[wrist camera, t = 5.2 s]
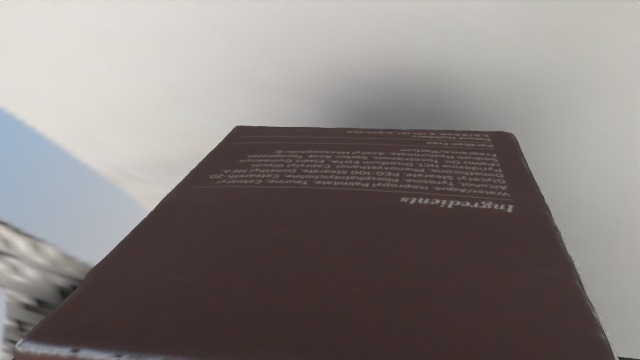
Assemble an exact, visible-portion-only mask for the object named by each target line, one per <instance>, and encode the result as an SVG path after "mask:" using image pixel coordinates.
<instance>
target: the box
mask: <svg viewBox="0 0 640 360" xmlns="http://www.w3.org/2000/svg"><path fill="white" fill-rule="evenodd" d="M14 356H15V360H615V357H614V354H613V352H612V349H611V346H610V343H609V341H608V338H607V336H606V334H605V332H604V330H603V328H602V326H601V324H600V321H599V319H598V316H597V313H596V311H595V309H594V307H593V305H592V303H591V301H590V300H589V298H588V296H587V294H586V292H585V289H584V286H583V284H582V281H581V279H580V276H579V274H578V272H577V270H576V268H575V265H574V263H573V261H572V258H571V257H570V255H569V254H568V251H567V249H566V247H565V245H564V242H563V240H562V237H561V234H560V232H559V230H558V228H557V226H556V225H555V222H554V220H553V217H552V214H551V212H550V210H549V208H548V206H547V204H546V202H545V200H544V197H543V195H542V194H541V191H540V189H539V187H538V185H537V183H536V181H535V179H534V177H533V175H532V172H531V170H530V169H529V167H528V164H527V162H526V160H525V158H524V155H523V153H522V150H521V148H520V146H519V143H518V141H517V139H516V137H515V136H514V135H513V134H512V133H508V132H503V131H491V132H482V131H453V130H401V129H359V128H319V127H267V126H236V127H235V128H233V130H232V131H231V132H230V133H229V134H228V135H227V136H226V137H225V138H224V139H223V141H222V142H220V143H219V144H218V145H217V146H216V147H215V148H214V149H213V150H212V151H211V152H210V153H209V154H208V155H207V156H206V157H205V158H204V159H203V160H202V161H201V162H200V163H199V164H198V165H197V166H196V167H195V168H194V169H193V170H191V171H190V173H189V174H188V175H187V176H186V177H185V178H184V179H183V180H182V181H181V182H180V183H179V184H178V185H177V186H176V187H175V188H174V189H173V190H172V191H171V192H170V193H169V194H167V196H166V197H165V198H164V199H163V200H162V201H161V202H160V203H159V204H158V205H157V206H156V207H155V209H154V210H153V211H151V212H150V213H149V214H148V216H147V217H146V218H144V219H143V220H142V221H141V222H140V223H139V224H138V225H137V226H136V227H135V228H134V229H133V230H132V231H131V232H130V234H128V235H127V236H126V237H125V238H124V239H123V240H122V241H121V242H120V243H119V244H118V245H117V246H116V247H115V248H114V249H113V250H112V251H111V252H110V253H109V254H108V255H107V256H106V257H105V258H104V259H103V260H101V261H100V262H99V263H98V264H97V265H96V266H95V267H93V268H92V269H91V270H90V271H89V272H88V273H87V275H86V277H85V278H84V280H83V281H82V283H81V284H80V286H79V287H78V288H77V289H76V290H75V291H74V292H72V293H71V294H70V295H69V296H68V297H67V298H66V299H65V300H64V301H63V302H62V303H61V304H60V305H59V306H58V307H57V308H56V309H55V310H54V311H52V312H51V313H50V314H49V315H48V316H46V317H45V318H44V319H43V320H41V321H40V322H39V323H38V324H37V325H36V326H35V327H34V328H33V329H32V330H31V331H30V332H29V333H28V334H26V335H25V336H24V337H23V338H21V339H20V340H19V341H18V342H17V344H16V346H15V347H14Z"/></svg>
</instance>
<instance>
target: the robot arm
mask: <svg viewBox="0 0 640 360" xmlns="http://www.w3.org/2000/svg"><path fill="white" fill-rule="evenodd" d="M553 220H554V218H553ZM554 222H555V221H554ZM555 225H556V223H555ZM556 226H557V225H556ZM557 228H558V227H557ZM558 230H559V229H558ZM559 232H560V231H559ZM561 237H562V236H561ZM562 240H563V238H562ZM563 242H564V240H563ZM564 245H565V247H566V249H567V246H566V244H565V242H564ZM567 251H568V249H567ZM568 254H569V255H570V253H569V251H568ZM570 257H571V255H570ZM571 258H572V257H571ZM572 261H573V259H572ZM573 263H574V262H573ZM574 265H575V264H574ZM575 268H576V266H575ZM576 270H577V268H576ZM577 272H578V270H577ZM578 274H579V272H578ZM579 276H580V275H579ZM580 279H581V277H580ZM581 281H582V279H581ZM582 284H583V286H584V289H585V292H586V294H587V296H588V298H589V300H590V301H591V303H592V300H591V298H590V296H589V294H588V292H587V290H586V287H585V285H584V283H583V281H582ZM592 305H593V303H592ZM593 307H594V305H593ZM594 309H595V307H594ZM595 311H596V309H595ZM596 313H597V311H596ZM597 316H598V319H599V321H600V324H601V326H602V328H603V330H604V332H605V334H606V336H607V338H608V341H609V343H610V346H611V349H612V352H613V354H614V357H615V360H640V359H632V358H623V357H618V356H617V354H616V352H615V350H614V348H613V346H612V344H611V341H610V339H609V337H608V335H607V333H606V331H605V328H604V326H603V324H602V322H601V320H600V318H599V315H598V313H597ZM13 360H15V358H14V359H13Z"/></svg>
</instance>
